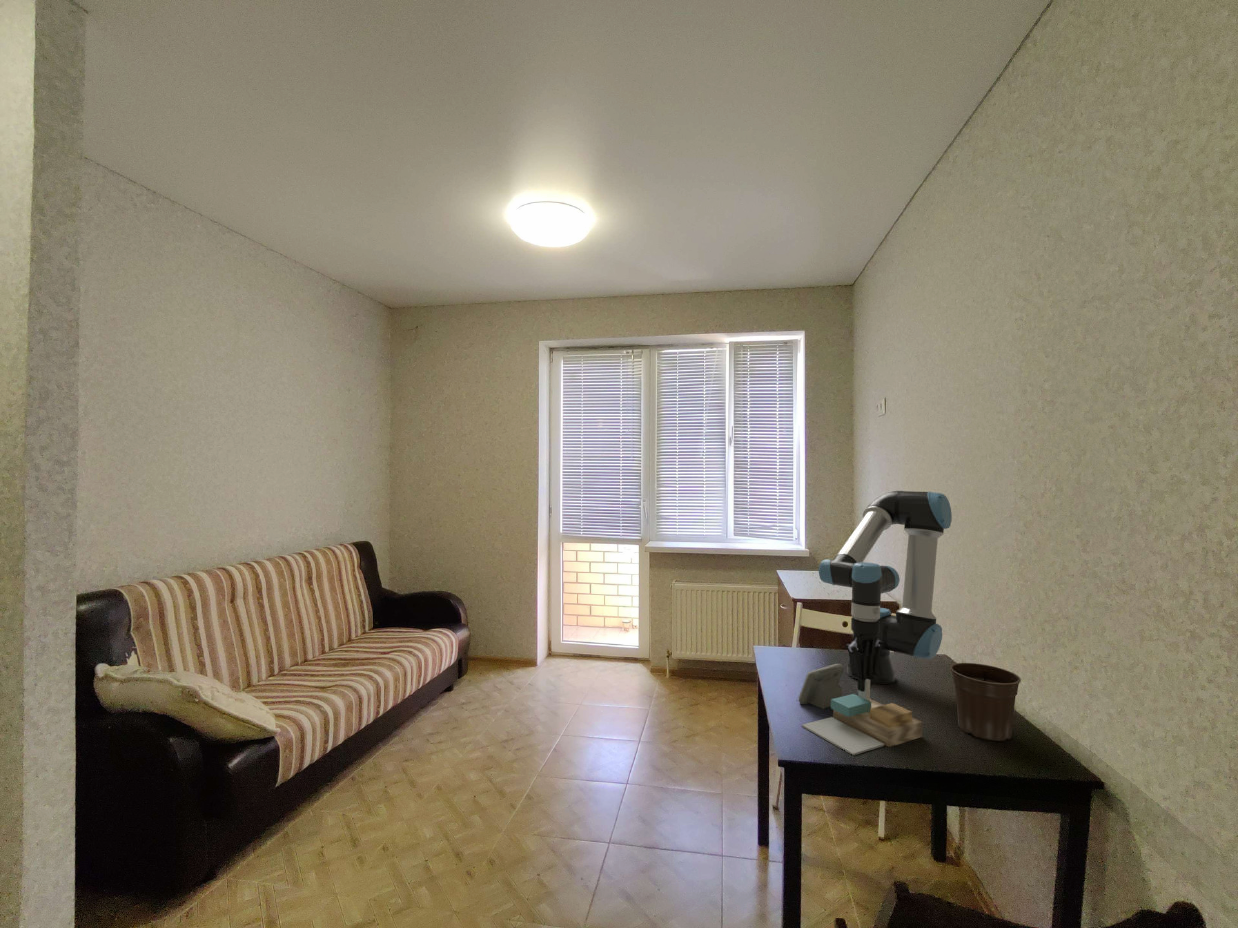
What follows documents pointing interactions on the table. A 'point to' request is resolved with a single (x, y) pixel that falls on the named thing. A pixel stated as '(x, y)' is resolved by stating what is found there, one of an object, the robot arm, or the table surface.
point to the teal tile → (850, 705)
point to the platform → (882, 727)
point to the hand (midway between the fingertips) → (863, 701)
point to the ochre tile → (890, 715)
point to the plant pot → (985, 700)
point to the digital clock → (822, 686)
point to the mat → (843, 735)
